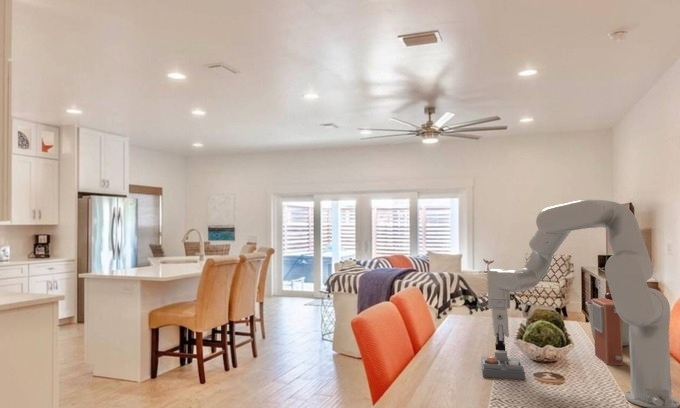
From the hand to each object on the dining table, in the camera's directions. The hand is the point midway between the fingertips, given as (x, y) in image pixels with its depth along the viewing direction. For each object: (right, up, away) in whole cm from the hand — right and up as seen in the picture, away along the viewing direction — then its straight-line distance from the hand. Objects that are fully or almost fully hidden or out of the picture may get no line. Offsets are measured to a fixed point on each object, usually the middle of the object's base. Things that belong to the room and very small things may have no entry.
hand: (500, 355), depth 167 cm
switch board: (-2, -3, -7) cm, 8 cm away
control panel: (+41, -4, +5) cm, 42 cm away
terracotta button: (-6, +1, -9) cm, 11 cm away
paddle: (-1, -1, -3) cm, 3 cm away
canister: (+56, -4, +28) cm, 62 cm away
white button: (+1, 0, -11) cm, 11 cm away
